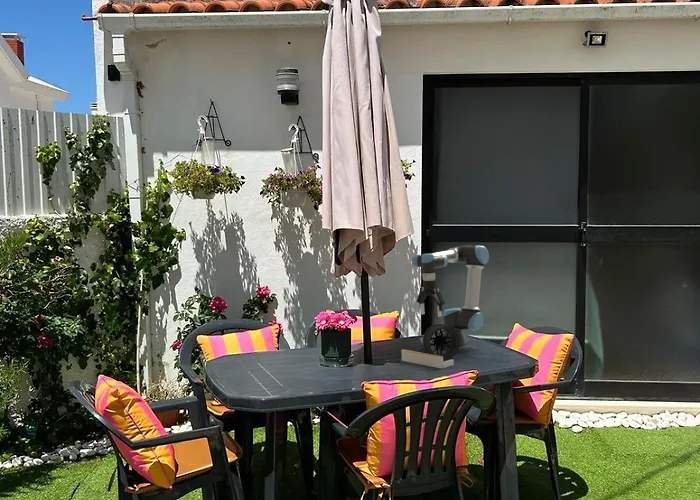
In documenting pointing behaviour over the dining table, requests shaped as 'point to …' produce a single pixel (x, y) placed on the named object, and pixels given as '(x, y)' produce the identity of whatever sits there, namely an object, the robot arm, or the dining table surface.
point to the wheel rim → (441, 341)
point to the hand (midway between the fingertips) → (431, 315)
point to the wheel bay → (425, 359)
